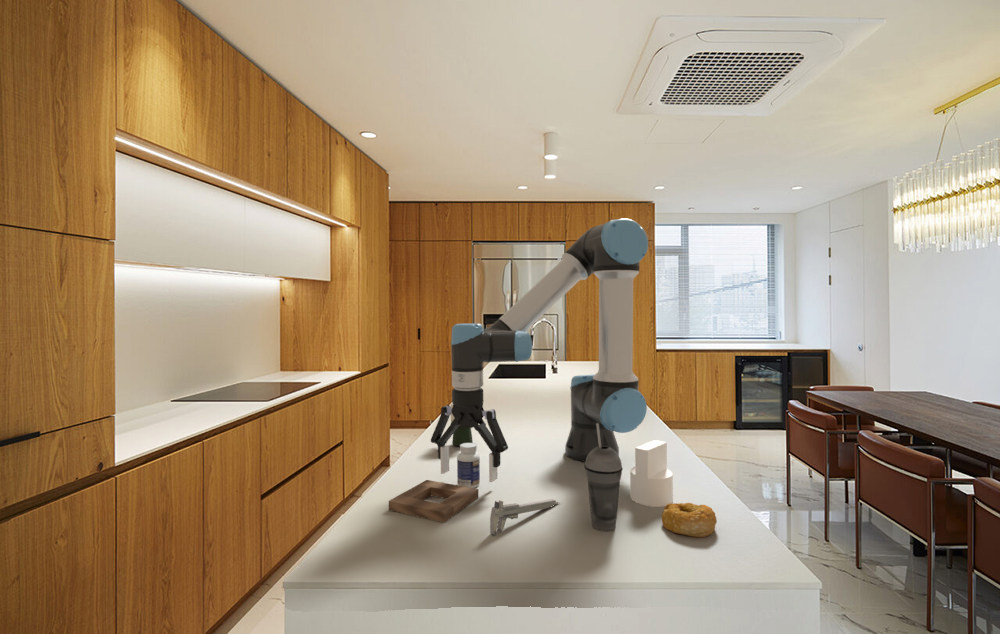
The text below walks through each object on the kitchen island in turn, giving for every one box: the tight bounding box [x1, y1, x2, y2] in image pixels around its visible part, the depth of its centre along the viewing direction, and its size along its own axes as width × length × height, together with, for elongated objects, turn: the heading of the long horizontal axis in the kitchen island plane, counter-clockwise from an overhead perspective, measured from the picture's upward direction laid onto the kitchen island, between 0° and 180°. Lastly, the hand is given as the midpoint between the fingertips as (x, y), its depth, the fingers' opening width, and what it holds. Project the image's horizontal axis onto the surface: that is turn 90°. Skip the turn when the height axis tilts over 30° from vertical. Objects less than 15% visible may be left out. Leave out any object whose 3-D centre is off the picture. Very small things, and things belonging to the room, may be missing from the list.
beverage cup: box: [584, 423, 624, 532], centre depth 97 cm, size 7×7×20 cm
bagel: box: [661, 502, 718, 538], centre depth 96 cm, size 10×11×5 cm
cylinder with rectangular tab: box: [629, 439, 674, 508], centre depth 110 cm, size 9×9×12 cm
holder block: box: [388, 479, 479, 523], centre depth 109 cm, size 14×14×2 cm
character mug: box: [450, 402, 474, 446], centre depth 154 cm, size 11×7×13 cm, turn 44°
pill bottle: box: [456, 442, 481, 489], centre depth 120 cm, size 5×5×10 cm
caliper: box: [489, 498, 560, 536], centre depth 101 cm, size 20×1×6 cm, turn 137°
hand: (468, 476), depth 120 cm, fingers open, 13 cm apart
